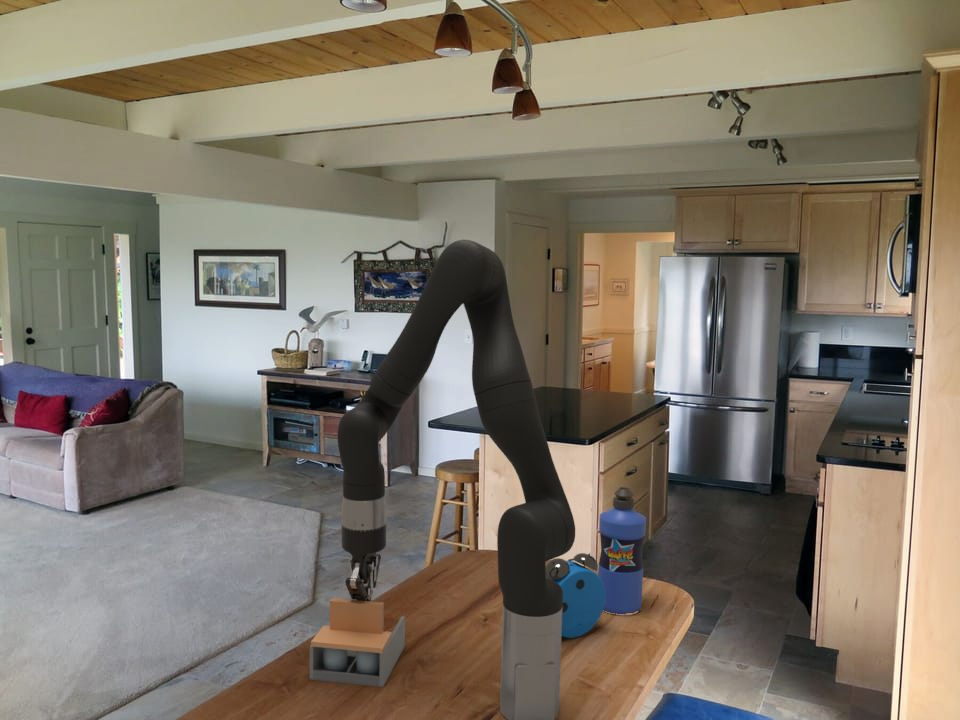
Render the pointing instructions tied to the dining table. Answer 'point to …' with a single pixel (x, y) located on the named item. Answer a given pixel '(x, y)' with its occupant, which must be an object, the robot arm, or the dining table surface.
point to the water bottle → (622, 554)
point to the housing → (350, 676)
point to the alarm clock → (578, 593)
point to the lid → (354, 627)
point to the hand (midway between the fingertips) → (363, 617)
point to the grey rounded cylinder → (335, 659)
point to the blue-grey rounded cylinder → (367, 663)
